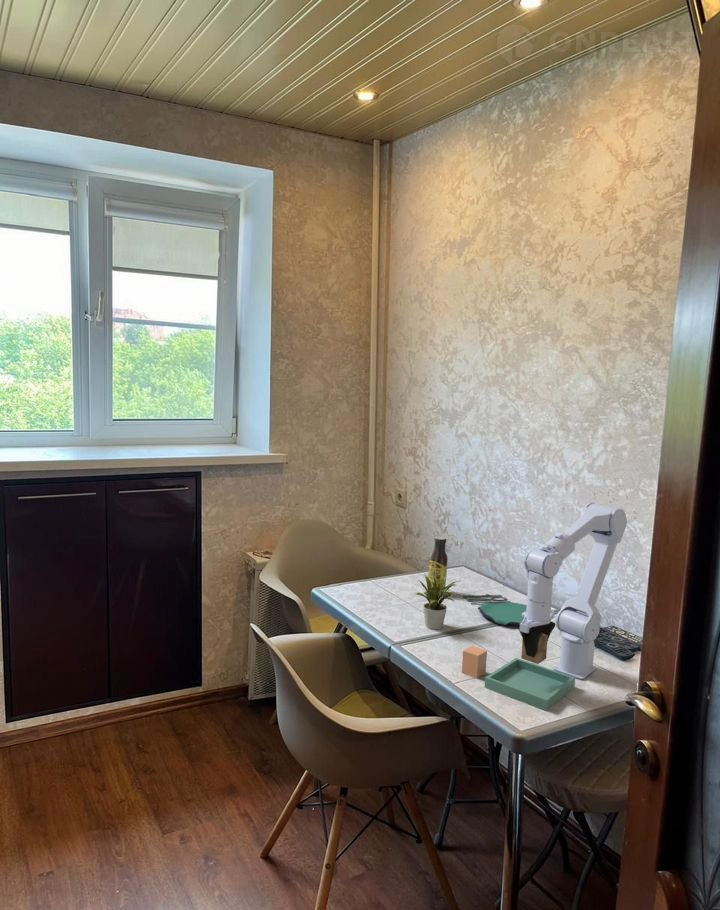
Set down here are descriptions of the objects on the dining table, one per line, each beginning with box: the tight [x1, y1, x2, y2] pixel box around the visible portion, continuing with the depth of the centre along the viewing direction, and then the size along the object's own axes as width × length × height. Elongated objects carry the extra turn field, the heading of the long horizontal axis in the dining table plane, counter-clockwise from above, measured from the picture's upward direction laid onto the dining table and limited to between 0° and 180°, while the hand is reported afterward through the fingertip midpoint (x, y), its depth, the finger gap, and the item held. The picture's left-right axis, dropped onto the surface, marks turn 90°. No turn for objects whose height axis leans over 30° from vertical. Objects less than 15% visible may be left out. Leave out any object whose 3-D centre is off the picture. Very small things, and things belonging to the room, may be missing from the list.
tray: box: [484, 657, 576, 711], centre depth 161 cm, size 16×16×2 cm
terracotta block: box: [461, 645, 488, 679], centre depth 168 cm, size 4×4×6 cm
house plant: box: [415, 573, 460, 631], centre depth 196 cm, size 14×14×16 cm
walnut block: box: [520, 634, 549, 665], centre depth 161 cm, size 4×4×6 cm
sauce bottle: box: [427, 535, 449, 593], centre depth 228 cm, size 6×6×20 cm
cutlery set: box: [462, 593, 527, 626], centre depth 214 cm, size 20×30×2 cm, turn 15°
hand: (535, 652), depth 161 cm, fingers closed on walnut block, 4 cm apart
